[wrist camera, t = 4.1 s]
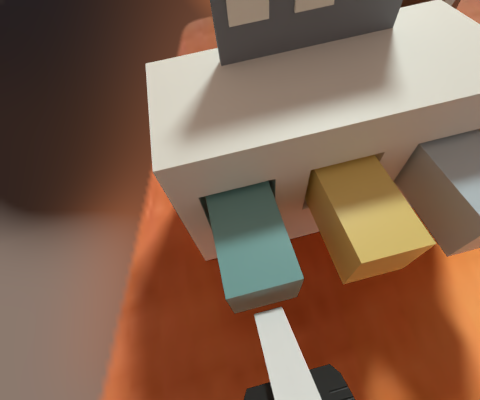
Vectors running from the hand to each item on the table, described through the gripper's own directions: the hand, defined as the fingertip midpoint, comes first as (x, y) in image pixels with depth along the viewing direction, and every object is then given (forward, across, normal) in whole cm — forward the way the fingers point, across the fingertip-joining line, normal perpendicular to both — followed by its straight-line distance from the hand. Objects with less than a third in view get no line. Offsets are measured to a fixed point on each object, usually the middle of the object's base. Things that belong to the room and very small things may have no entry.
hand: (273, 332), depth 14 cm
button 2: (+6, +14, +3) cm, 16 cm away
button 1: (+6, 0, +3) cm, 7 cm away
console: (+14, +7, +4) cm, 16 cm away
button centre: (+6, +7, +3) cm, 10 cm away
